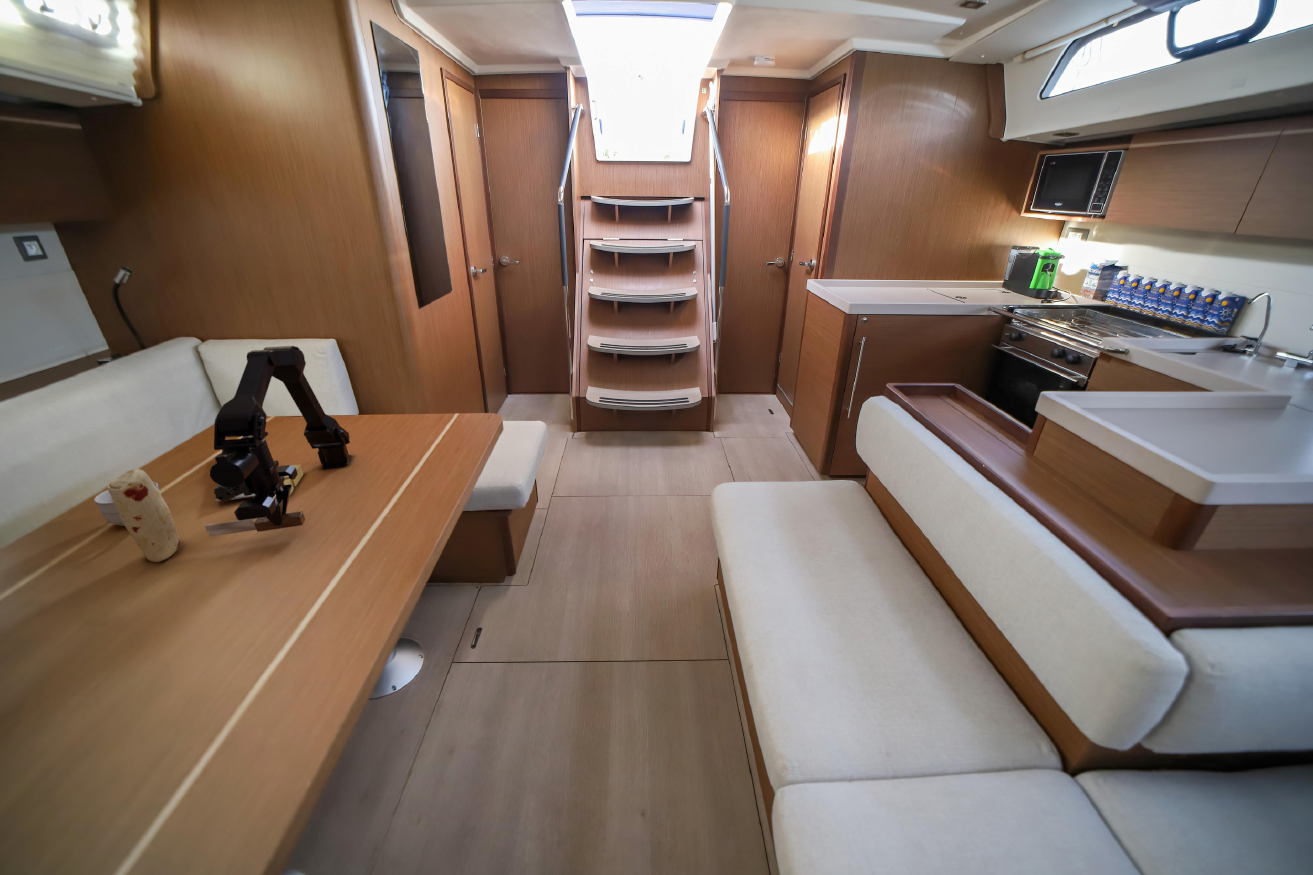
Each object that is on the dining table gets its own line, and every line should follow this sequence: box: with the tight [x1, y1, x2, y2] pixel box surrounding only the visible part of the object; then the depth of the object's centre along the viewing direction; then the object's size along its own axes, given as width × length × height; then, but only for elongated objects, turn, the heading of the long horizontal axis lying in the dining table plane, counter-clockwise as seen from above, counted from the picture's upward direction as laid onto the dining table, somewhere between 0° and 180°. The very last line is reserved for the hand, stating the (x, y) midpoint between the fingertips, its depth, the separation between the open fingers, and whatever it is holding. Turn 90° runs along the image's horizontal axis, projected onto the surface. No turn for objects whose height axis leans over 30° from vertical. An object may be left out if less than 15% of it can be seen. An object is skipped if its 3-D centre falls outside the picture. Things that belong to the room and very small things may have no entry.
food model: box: [106, 468, 181, 563], centre depth 106 cm, size 10×7×20 cm
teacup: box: [93, 481, 162, 527], centre depth 119 cm, size 14×11×8 cm
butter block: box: [284, 464, 304, 488], centre depth 138 cm, size 5×7×3 cm
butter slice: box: [283, 479, 295, 496], centre depth 132 cm, size 5×4×3 cm
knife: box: [204, 510, 306, 538], centre depth 114 cm, size 18×2×3 cm, turn 107°
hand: (280, 521), depth 115 cm, fingers closed on knife, 2 cm apart
